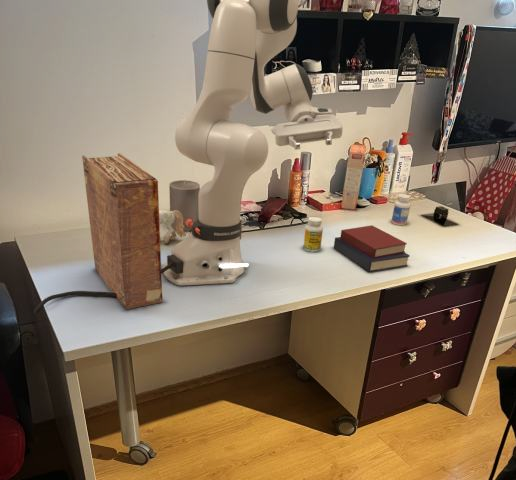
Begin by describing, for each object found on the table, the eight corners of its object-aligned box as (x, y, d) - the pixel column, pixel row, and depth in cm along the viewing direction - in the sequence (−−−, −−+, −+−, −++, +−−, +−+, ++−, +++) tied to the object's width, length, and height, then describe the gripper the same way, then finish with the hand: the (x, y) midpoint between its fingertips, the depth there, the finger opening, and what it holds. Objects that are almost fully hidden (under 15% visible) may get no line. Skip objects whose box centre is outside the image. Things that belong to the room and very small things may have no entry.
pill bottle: (388, 220, 192) (393, 193, 187) (401, 219, 194) (407, 193, 189) (396, 225, 188) (401, 198, 183) (409, 225, 190) (415, 197, 184)
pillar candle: (173, 220, 180) (171, 175, 172) (201, 222, 180) (201, 177, 172) (167, 230, 172) (166, 183, 164) (198, 232, 172) (197, 185, 164)
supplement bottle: (316, 245, 168) (320, 215, 163) (322, 251, 164) (326, 221, 159) (300, 246, 167) (303, 216, 162) (306, 252, 163) (309, 222, 157)
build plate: (458, 225, 193) (461, 212, 190) (443, 227, 190) (446, 214, 187) (435, 213, 202) (438, 201, 200) (420, 215, 199) (422, 203, 197)
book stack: (368, 272, 153) (372, 251, 149) (333, 248, 167) (336, 228, 164) (407, 266, 158) (412, 245, 155) (370, 243, 172) (373, 223, 169)
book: (95, 269, 144) (81, 154, 128) (128, 263, 149) (119, 152, 132) (126, 310, 126) (115, 183, 110) (163, 302, 131) (157, 179, 114)
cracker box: (356, 210, 200) (365, 153, 189) (340, 209, 201) (348, 151, 189) (358, 200, 211) (366, 145, 200) (342, 198, 212) (350, 143, 201)
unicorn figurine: (118, 241, 162) (114, 198, 154) (179, 234, 169) (178, 192, 162) (124, 250, 156) (120, 205, 149) (187, 242, 164) (186, 199, 157)
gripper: (269, 116, 161) (278, 139, 152) (336, 108, 162) (347, 130, 153) (270, 136, 166) (278, 159, 157) (335, 127, 167) (346, 150, 158)
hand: (313, 145), depth 155 cm, fingers open, 8 cm apart
